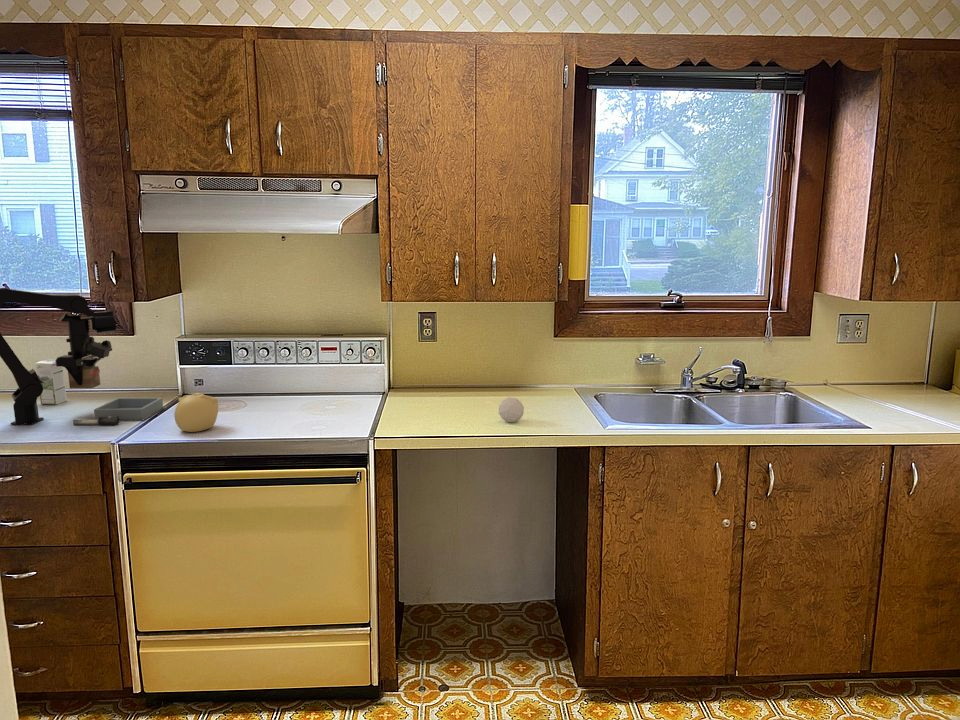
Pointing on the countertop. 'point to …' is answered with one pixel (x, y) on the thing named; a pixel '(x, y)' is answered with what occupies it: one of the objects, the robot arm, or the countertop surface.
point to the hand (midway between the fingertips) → (84, 383)
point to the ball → (511, 410)
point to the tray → (130, 408)
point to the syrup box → (51, 382)
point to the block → (87, 378)
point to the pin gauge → (99, 421)
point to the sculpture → (196, 412)
